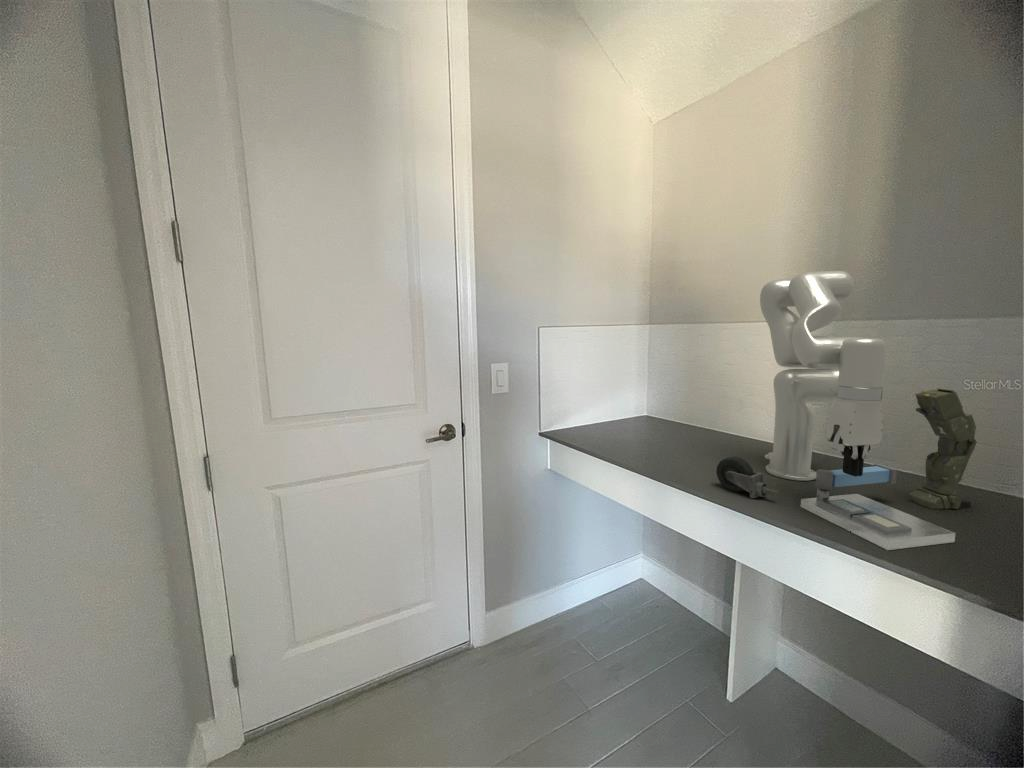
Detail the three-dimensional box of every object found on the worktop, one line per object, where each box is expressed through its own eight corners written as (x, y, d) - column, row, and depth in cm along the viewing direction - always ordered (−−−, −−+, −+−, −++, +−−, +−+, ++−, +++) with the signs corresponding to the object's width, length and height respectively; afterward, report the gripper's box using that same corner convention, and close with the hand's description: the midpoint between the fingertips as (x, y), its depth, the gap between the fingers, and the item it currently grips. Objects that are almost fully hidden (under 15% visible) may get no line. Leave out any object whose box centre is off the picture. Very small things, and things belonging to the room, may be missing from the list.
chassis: (799, 506, 99) (801, 488, 98) (855, 500, 101) (857, 483, 100) (887, 550, 79) (890, 528, 78) (954, 542, 81) (957, 520, 81)
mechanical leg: (958, 493, 102) (945, 380, 98) (992, 505, 95) (980, 384, 91) (906, 507, 102) (890, 395, 98) (936, 520, 95) (921, 400, 91)
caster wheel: (713, 490, 112) (772, 504, 99) (712, 456, 111) (770, 466, 99) (725, 486, 115) (782, 498, 102) (723, 453, 114) (781, 461, 102)
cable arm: (826, 491, 95) (827, 475, 95) (809, 484, 100) (811, 469, 99) (895, 484, 98) (897, 468, 98) (876, 477, 103) (878, 462, 102)
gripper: (869, 390, 93) (863, 466, 96) (814, 393, 91) (808, 471, 93) (906, 395, 86) (898, 477, 88) (846, 398, 84) (840, 482, 86)
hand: (852, 474), depth 91 cm, fingers closed
